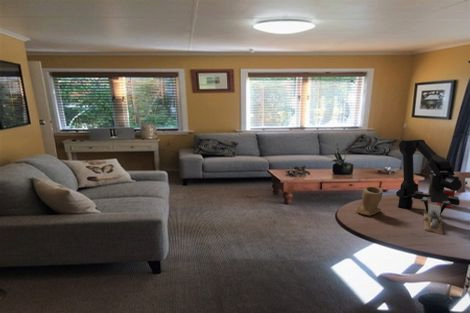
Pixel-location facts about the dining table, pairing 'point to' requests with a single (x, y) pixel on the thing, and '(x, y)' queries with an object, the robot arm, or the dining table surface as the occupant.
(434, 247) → the dining table surface
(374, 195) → the stone cup
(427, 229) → the shaft bench
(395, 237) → the dining table surface
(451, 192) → the canned food
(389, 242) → the dining table surface
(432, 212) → the block
